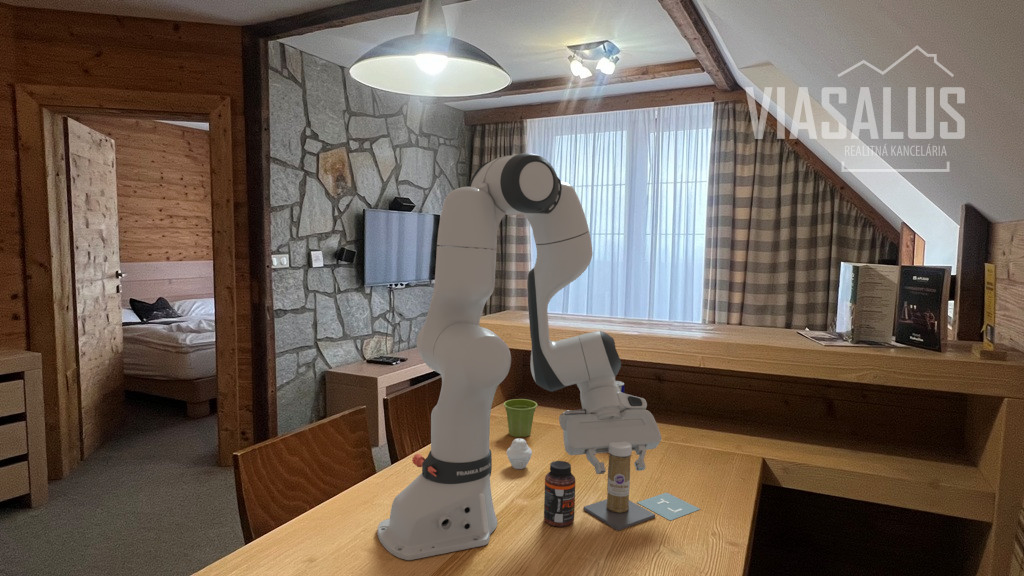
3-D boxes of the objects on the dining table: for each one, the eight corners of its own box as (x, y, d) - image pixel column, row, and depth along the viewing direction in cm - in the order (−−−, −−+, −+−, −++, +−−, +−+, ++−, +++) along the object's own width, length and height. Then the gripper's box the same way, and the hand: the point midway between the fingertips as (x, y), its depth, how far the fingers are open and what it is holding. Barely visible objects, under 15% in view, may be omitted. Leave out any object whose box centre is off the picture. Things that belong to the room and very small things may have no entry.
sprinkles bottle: (610, 514, 113) (612, 447, 112) (603, 503, 117) (605, 439, 116) (632, 513, 114) (635, 447, 112) (624, 502, 118) (627, 439, 117)
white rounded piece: (503, 463, 139) (503, 435, 139) (526, 460, 141) (527, 432, 141) (510, 473, 134) (511, 444, 133) (535, 470, 135) (535, 441, 135)
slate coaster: (617, 530, 108) (617, 527, 108) (583, 509, 116) (583, 506, 116) (655, 517, 113) (655, 514, 113) (619, 497, 122) (619, 495, 121)
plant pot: (542, 432, 162) (543, 402, 161) (525, 442, 154) (526, 410, 153) (514, 426, 167) (515, 397, 166) (496, 435, 159) (497, 405, 158)
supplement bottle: (565, 531, 107) (567, 473, 106) (538, 522, 110) (539, 466, 109) (579, 518, 112) (580, 462, 111) (552, 510, 116) (553, 456, 115)
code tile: (670, 521, 112) (670, 520, 112) (636, 503, 119) (636, 502, 119) (700, 510, 117) (700, 508, 117) (666, 493, 124) (666, 492, 124)
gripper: (560, 403, 117) (575, 468, 109) (652, 398, 122) (673, 460, 113) (553, 418, 122) (567, 481, 113) (642, 412, 126) (662, 473, 118)
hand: (621, 471), depth 113 cm, fingers open, 7 cm apart
